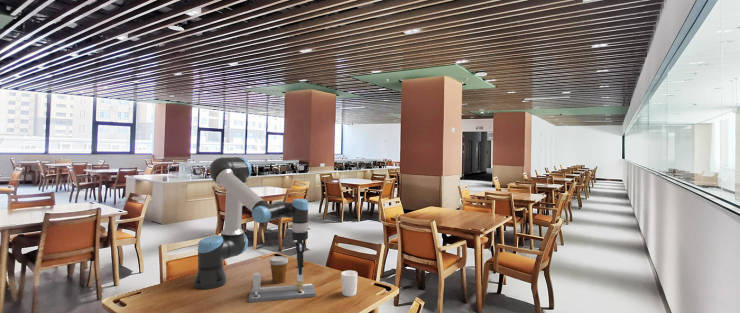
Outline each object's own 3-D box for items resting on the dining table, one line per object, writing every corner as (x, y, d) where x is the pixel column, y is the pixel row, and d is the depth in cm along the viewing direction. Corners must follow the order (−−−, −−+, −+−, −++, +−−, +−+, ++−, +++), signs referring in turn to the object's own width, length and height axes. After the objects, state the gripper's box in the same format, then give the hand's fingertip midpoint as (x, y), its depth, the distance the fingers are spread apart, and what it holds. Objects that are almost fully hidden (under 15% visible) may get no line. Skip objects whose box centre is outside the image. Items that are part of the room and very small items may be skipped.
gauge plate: (248, 302, 161) (248, 280, 161) (250, 292, 173) (250, 271, 173) (315, 296, 168) (315, 275, 168) (313, 287, 180) (313, 267, 180)
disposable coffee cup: (290, 278, 192) (290, 256, 192) (284, 285, 182) (284, 261, 182) (273, 277, 193) (273, 255, 193) (266, 284, 183) (266, 261, 183)
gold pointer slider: (297, 292, 168) (297, 264, 168) (296, 286, 176) (296, 259, 175) (303, 291, 169) (303, 263, 169) (302, 285, 176) (302, 259, 176)
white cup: (344, 298, 167) (345, 276, 167) (338, 292, 174) (338, 271, 174) (360, 295, 170) (360, 274, 170) (353, 289, 177) (353, 269, 177)
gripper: (309, 235, 165) (309, 284, 166) (306, 226, 184) (306, 271, 185) (292, 236, 164) (292, 286, 164) (291, 227, 183) (291, 272, 183)
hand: (299, 278), depth 174 cm, fingers open, 7 cm apart
